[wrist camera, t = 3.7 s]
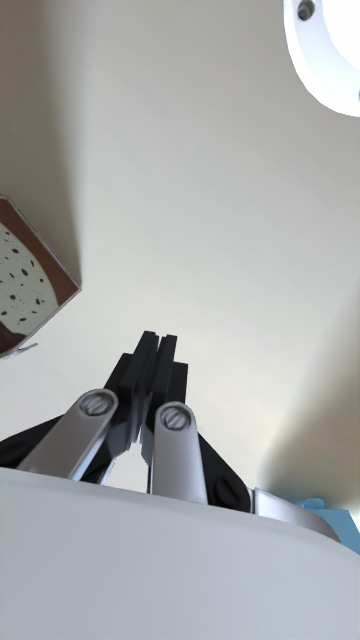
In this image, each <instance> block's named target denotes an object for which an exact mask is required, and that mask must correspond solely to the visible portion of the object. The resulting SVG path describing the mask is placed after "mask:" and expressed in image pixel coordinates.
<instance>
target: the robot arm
mask: <svg viewBox="0 0 360 640" xmlns="http://www.w3.org/2000/svg"><path fill="white" fill-rule="evenodd" d="M299 16H301V17H303V19H304V21H302V20H301V19H299ZM284 25H285V31H286V37H287V42H288V48H289V52H290V55H291V57H292V60H293V63H294V66H295V68H296V71H297V73H298V75H299V76H300V78H301V80H302V81H303V83H304V84H305V86H306V88H307V89H308V91H309V92H311V93H312V94H313V95H314V96H315V97H316V98H317V99H318V100H319V101H320V102H321V103H322V104H324V105H326V106H328V107H329V108H331V109H333V110H335V111H337V112H340V113H344V114H348V115H353V116H360V97H359V94H360V0H284ZM176 342H177V336H174V335H168V334H167V336H166V337H163V336H162V339H161V342H160V345H159V348H158V343H159V336H157V335H156V332H151V331H144V333H143V335H142V337H141V339H140V341H139V343H138V345H137V347H136V349H135V351H134V353H133V354H128V353H123V354H122V356H121V358H120V360H119V361H118V363H117V365H116V367H115V368H114V370H113V372H112V374H111V375H110V377H109V379H108V381H107V382H106V384H105V386H104V388H103V389H94V390H90V391H88V392H86V393H84V394H83V395H82V396H81V397H80V398H79V399H78V400H77V401H76V402H75V403H74V404H73V405H72V406H71V408H70V409H69V410H68V411H67V412H66V413H65V414H63V415H61V416H58V417H56V418H54V419H51V420H49V421H46V422H44V423H42V424H39V425H37V426H34V427H32V428H30V429H27V430H25V431H22V432H20V433H18V434H15V435H13V436H10V437H8V438H6V439H4V440H2V441H1V442H0V640H360V555H358V554H357V553H355V552H354V551H352V550H351V549H349V548H347V547H345V546H344V545H342V544H341V542H340V539H339V537H338V536H337V534H336V533H335V531H334V530H333V528H332V527H331V526H330V525H329V524H328V523H327V522H326V521H325V520H324V519H323V518H322V517H320V516H318V515H317V514H315V513H313V512H311V511H309V510H306V509H304V508H302V507H299V506H297V505H295V504H293V503H290V502H288V501H286V500H283V499H281V498H279V497H277V496H274V495H272V494H270V493H267V492H265V491H263V490H261V489H258V488H256V487H255V489H254V490H252V489H250V488H248V487H246V485H245V484H244V483H243V481H242V480H241V479H240V477H239V476H238V475H237V474H236V473H235V472H234V471H233V470H232V469H231V468H230V467H229V465H228V464H227V463H226V462H225V461H224V460H223V459H222V458H221V457H220V456H219V454H218V453H217V452H216V451H215V450H214V449H213V448H212V447H211V446H210V445H209V444H208V442H207V441H206V440H205V439H204V438H203V437H202V436H201V435H200V434H199V433H198V431H197V426H196V419H195V416H194V413H193V411H192V410H191V409H190V408H189V407H188V406H187V405H185V397H186V385H187V373H188V364H185V363H180V362H174V361H173V360H174V354H175V348H176ZM140 427H141V434H140V444H142V451H141V455H142V457H143V459H144V460H145V462H146V463H147V465H148V473H147V488H146V493H141V492H136V491H130V490H125V489H119V488H114V487H109V486H104V484H105V482H106V480H107V478H108V476H109V474H110V472H111V470H112V468H113V466H114V464H115V461H116V457H118V456H119V455H121V454H122V453H124V452H125V450H126V451H129V448H130V445H131V443H136V441H137V438H138V434H139V431H140Z"/></svg>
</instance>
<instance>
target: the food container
mask: <svg viewBox="0 0 360 640" xmlns="http://www.w3.org/2000/svg"><path fill="white" fill-rule="evenodd" d="M81 290H82V289H81V288H80V286H79V285H78V284H77V283H76V281H75V280H74V279H73V278H72V276H71V275H70V274H69V273H68V271H67V270H66V269H65V268H64V266H63V265H62V264H61V263H60V261H59V260H58V259H57V258H56V256H55V255H54V254H53V253H52V251H51V250H50V249H49V248H48V246H47V245H46V244H45V243H44V241H43V240H42V239H41V237H40V236H39V235H38V234H37V232H36V231H35V230H34V229H33V227H32V226H31V225H30V224H29V222H28V221H27V220H26V219H25V217H24V216H23V215H22V214H21V212H20V211H19V210H18V209H17V207H16V206H15V205H14V204H13V202H12V201H11V200H10V199H9V197H7V196H2V195H0V360H4V359H8V358H11V357H13V356H15V355H17V354H19V353H22V352H24V351H26V350H28V349H30V348H32V347H34V346H36V345H38V344H37V343H35V344H33V345H30V346H28V347H26V348H22V349H19V348H20V347H21V346H22V345H23V344H24V343H25V342H26V341H27V340H28V339H29V338H31V337H32V336H33V335H34V334H35V333H36V332H37V331H38V330H39V329H40V328H41V327H42V326H43V325H45V324H46V323H47V322H48V321H49V320H50V319H51V318H52V317H53V316H54V315H55V314H56V313H58V312H59V311H60V310H61V309H62V308H63V307H64V306H65V305H66V304H67V303H68V302H69V301H70V300H72V299H73V298H74V297H75V296H76V295H77V294H78V293H79V292H80V291H81Z"/></svg>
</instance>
